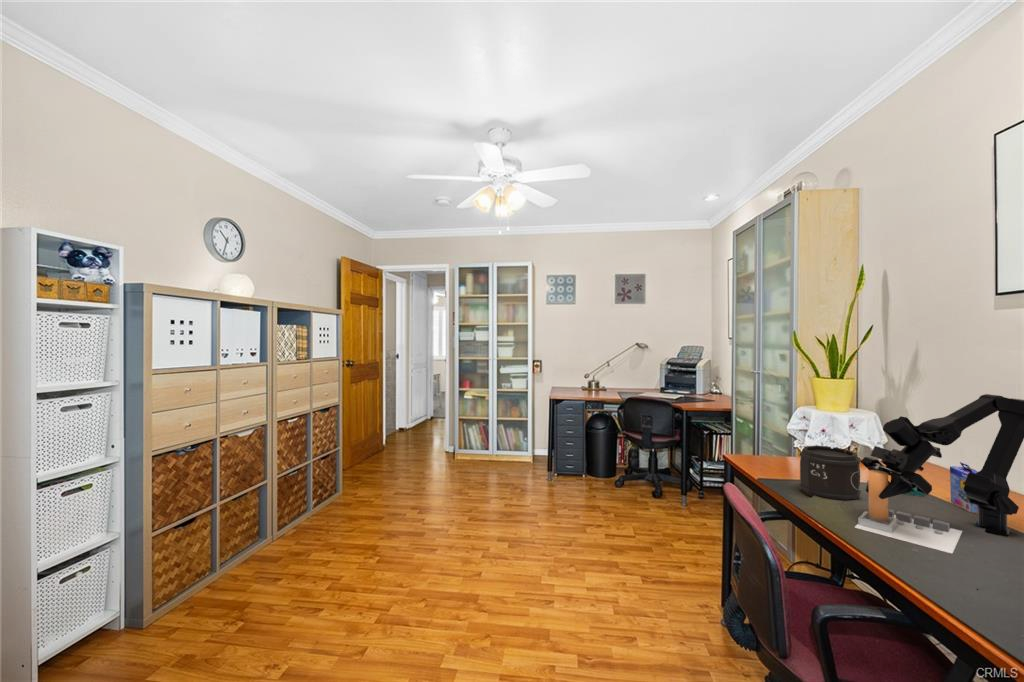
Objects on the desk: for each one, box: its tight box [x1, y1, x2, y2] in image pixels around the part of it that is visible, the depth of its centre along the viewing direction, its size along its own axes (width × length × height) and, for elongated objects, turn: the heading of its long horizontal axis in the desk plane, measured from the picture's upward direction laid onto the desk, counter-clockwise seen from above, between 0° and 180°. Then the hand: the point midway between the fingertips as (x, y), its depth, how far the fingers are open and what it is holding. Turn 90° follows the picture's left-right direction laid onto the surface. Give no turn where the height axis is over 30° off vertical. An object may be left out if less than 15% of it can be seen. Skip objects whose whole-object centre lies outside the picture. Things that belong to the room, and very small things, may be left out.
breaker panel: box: [854, 508, 963, 554], centre depth 124 cm, size 20×20×3 cm
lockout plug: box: [867, 470, 889, 520], centre depth 127 cm, size 4×4×13 cm
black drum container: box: [799, 445, 862, 501], centre depth 155 cm, size 18×18×16 cm
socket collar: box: [857, 510, 898, 533], centre depth 127 cm, size 8×8×2 cm
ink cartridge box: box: [949, 461, 979, 514], centre depth 142 cm, size 10×6×14 cm, turn 164°
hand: (873, 494), depth 127 cm, fingers closed on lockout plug, 4 cm apart
